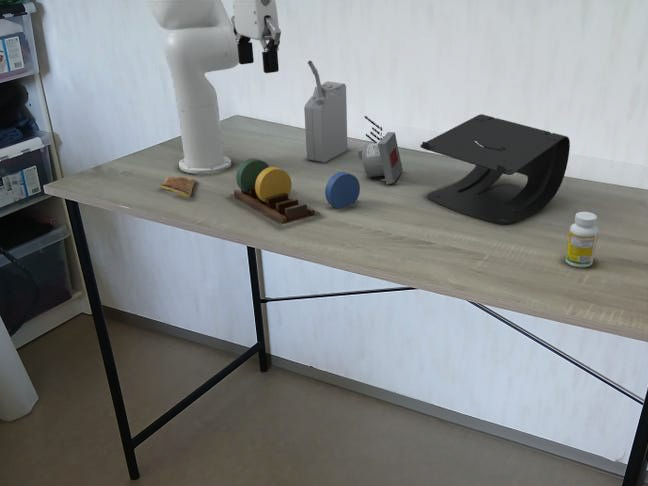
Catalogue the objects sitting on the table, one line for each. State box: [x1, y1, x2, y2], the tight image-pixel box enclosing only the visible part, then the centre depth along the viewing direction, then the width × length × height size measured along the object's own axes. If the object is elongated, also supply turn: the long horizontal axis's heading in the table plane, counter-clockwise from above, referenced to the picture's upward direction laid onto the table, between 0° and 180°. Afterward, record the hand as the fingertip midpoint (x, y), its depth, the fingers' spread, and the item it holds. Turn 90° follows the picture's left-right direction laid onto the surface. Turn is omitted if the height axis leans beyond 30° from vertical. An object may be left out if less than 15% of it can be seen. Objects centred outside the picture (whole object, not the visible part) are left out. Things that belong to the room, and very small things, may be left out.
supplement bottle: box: [565, 211, 599, 268], centre depth 142 cm, size 5×5×10 cm
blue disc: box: [324, 170, 361, 209], centre depth 163 cm, size 2×8×8 cm, turn 131°
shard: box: [159, 176, 196, 198], centre depth 170 cm, size 11×8×2 cm
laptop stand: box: [419, 113, 571, 225], centre depth 168 cm, size 26×24×16 cm
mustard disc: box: [255, 166, 293, 203], centre depth 162 cm, size 2×8×8 cm, turn 131°
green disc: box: [235, 157, 270, 194], centre depth 166 cm, size 2×8×8 cm, turn 131°
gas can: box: [303, 60, 348, 164], centre depth 188 cm, size 15×5×25 cm, turn 155°
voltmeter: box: [357, 115, 403, 186], centre depth 185 cm, size 27×11×10 cm, turn 23°
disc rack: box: [229, 186, 321, 226], centre depth 164 cm, size 22×10×3 cm, turn 41°
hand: (258, 67), depth 153 cm, fingers open, 9 cm apart
